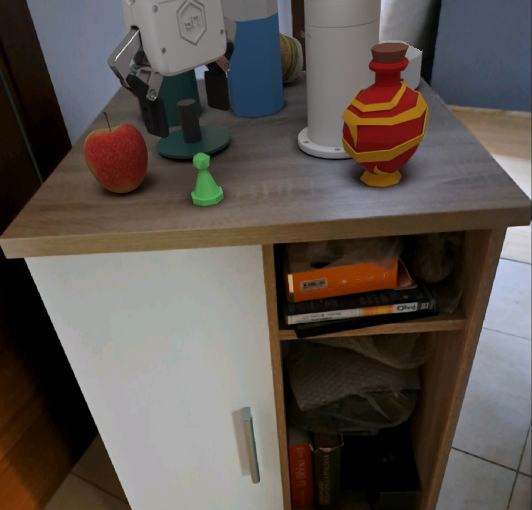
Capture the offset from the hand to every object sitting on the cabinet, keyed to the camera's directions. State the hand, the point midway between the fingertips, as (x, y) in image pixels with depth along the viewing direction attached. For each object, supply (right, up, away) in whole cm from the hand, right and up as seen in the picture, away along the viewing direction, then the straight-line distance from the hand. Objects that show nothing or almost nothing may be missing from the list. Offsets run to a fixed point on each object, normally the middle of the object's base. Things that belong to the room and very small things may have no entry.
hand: (190, 121), depth 59 cm
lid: (-2, +5, +19) cm, 20 cm away
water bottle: (+7, +16, +30) cm, 35 cm away
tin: (-8, +15, +31) cm, 35 cm away
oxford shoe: (+7, +33, +43) cm, 55 cm away
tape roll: (+28, +21, +34) cm, 49 cm away
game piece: (+1, -7, +7) cm, 10 cm away
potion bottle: (+24, -4, +7) cm, 25 cm away
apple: (-10, -5, +11) cm, 16 cm away
